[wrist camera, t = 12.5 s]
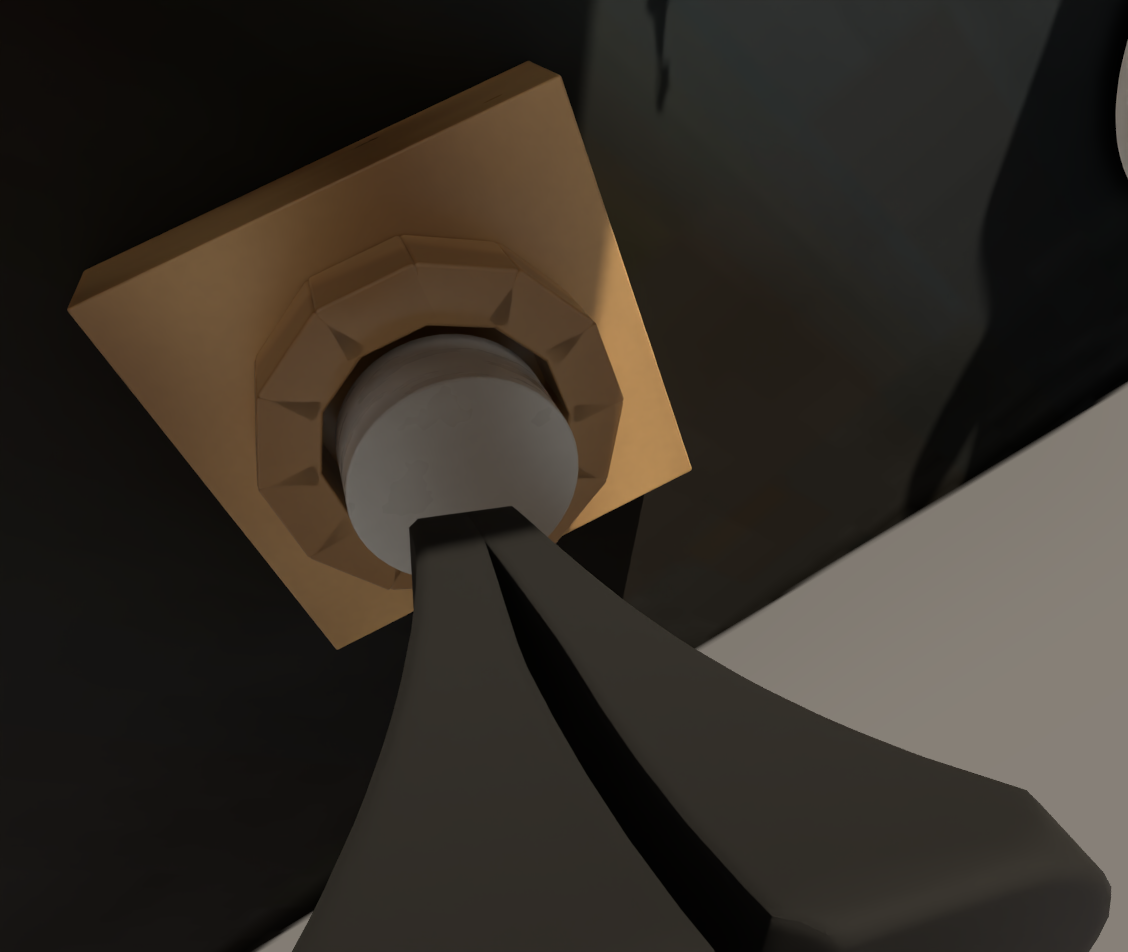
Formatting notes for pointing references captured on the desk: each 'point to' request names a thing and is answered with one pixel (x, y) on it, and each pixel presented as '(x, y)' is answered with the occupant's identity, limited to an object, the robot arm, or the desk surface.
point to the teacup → (1123, 112)
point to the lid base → (386, 323)
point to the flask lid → (450, 441)
